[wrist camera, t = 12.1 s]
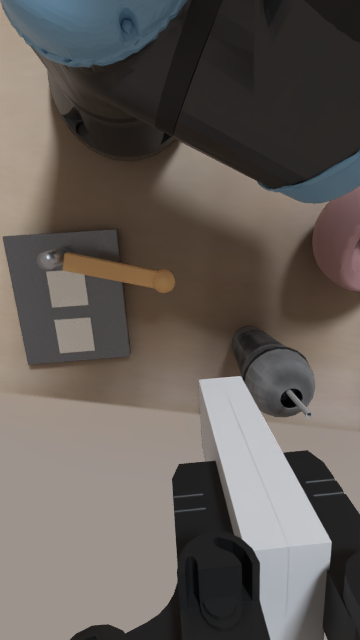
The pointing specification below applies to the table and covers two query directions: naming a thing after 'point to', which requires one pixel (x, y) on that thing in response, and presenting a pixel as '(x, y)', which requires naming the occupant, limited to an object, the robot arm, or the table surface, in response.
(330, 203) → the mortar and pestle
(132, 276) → the wooden lever handle
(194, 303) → the table surface
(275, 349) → the beverage cup
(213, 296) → the table surface
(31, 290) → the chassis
